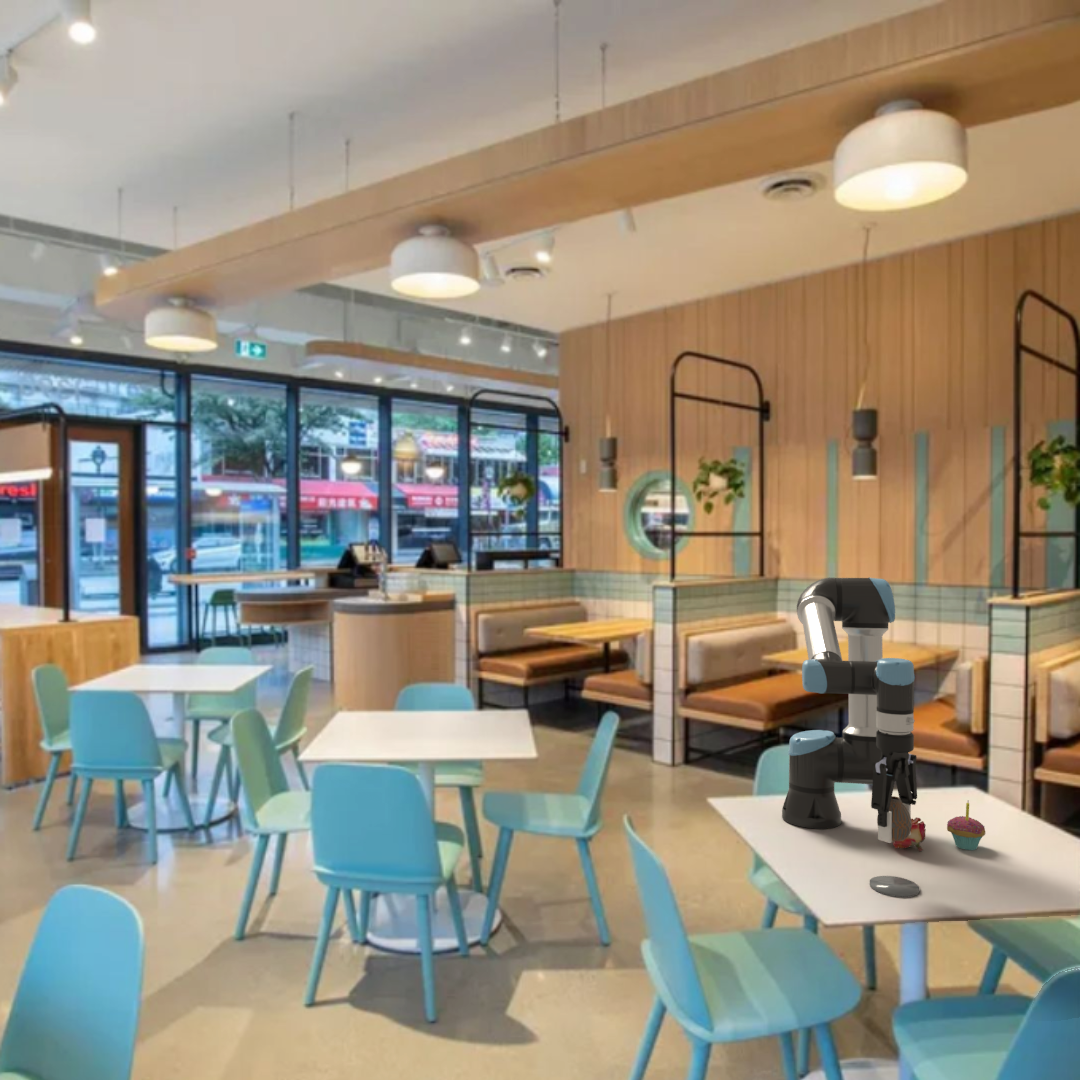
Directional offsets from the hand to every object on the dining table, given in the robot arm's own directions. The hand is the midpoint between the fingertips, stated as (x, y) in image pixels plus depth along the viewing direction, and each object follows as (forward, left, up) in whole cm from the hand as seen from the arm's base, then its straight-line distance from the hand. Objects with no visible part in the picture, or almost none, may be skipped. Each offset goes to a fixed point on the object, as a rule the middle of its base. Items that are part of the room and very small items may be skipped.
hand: (894, 836), depth 190 cm
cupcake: (-3, +37, -11) cm, 39 cm away
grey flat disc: (0, 0, -11) cm, 11 cm away
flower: (-11, +24, -11) cm, 29 cm away
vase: (0, 0, -1) cm, 1 cm away
